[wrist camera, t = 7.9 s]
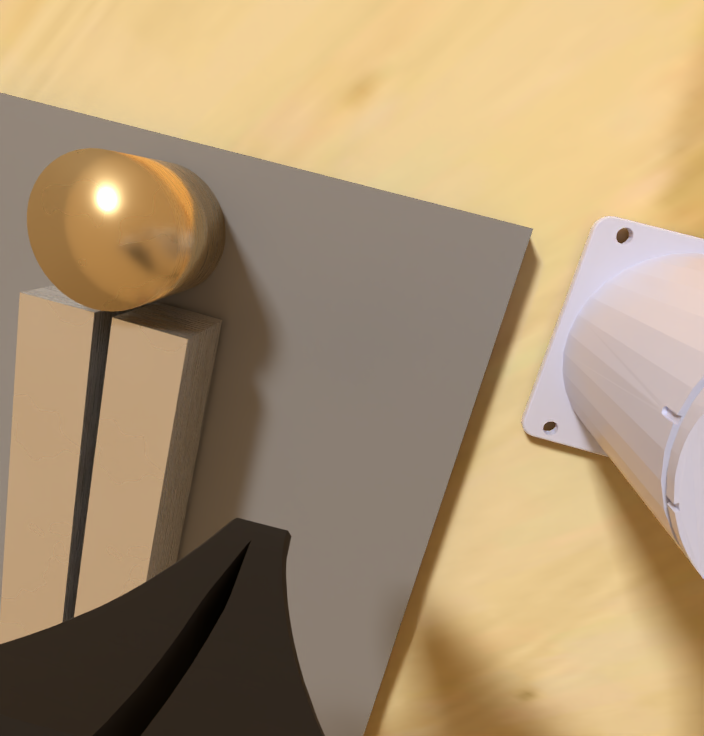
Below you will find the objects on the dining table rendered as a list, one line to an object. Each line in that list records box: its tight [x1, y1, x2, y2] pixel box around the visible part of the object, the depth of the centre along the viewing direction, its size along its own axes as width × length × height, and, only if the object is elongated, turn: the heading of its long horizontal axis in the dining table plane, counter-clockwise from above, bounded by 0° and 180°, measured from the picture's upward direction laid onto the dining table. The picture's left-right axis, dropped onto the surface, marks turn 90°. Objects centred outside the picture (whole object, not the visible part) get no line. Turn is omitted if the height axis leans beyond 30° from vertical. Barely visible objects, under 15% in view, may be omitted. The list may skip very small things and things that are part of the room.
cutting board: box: [0, 93, 533, 736], centre depth 22 cm, size 20×24×1 cm
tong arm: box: [74, 302, 222, 617], centre depth 20 cm, size 16×3×3 cm, turn 165°
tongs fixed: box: [0, 148, 226, 644], centre depth 20 cm, size 21×5×4 cm, turn 166°
